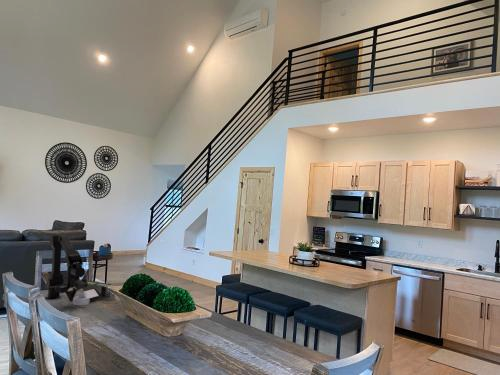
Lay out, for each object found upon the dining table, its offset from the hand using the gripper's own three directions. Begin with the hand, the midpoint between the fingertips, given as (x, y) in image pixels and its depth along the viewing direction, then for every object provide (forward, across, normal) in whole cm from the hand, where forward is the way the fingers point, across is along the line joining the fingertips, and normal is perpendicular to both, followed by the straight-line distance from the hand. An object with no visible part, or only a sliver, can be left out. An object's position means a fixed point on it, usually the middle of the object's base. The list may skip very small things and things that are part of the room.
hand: (71, 301), depth 211 cm
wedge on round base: (+3, +10, 0) cm, 11 cm away
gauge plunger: (+2, +20, 0) cm, 20 cm away
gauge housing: (+3, +21, 0) cm, 22 cm away
